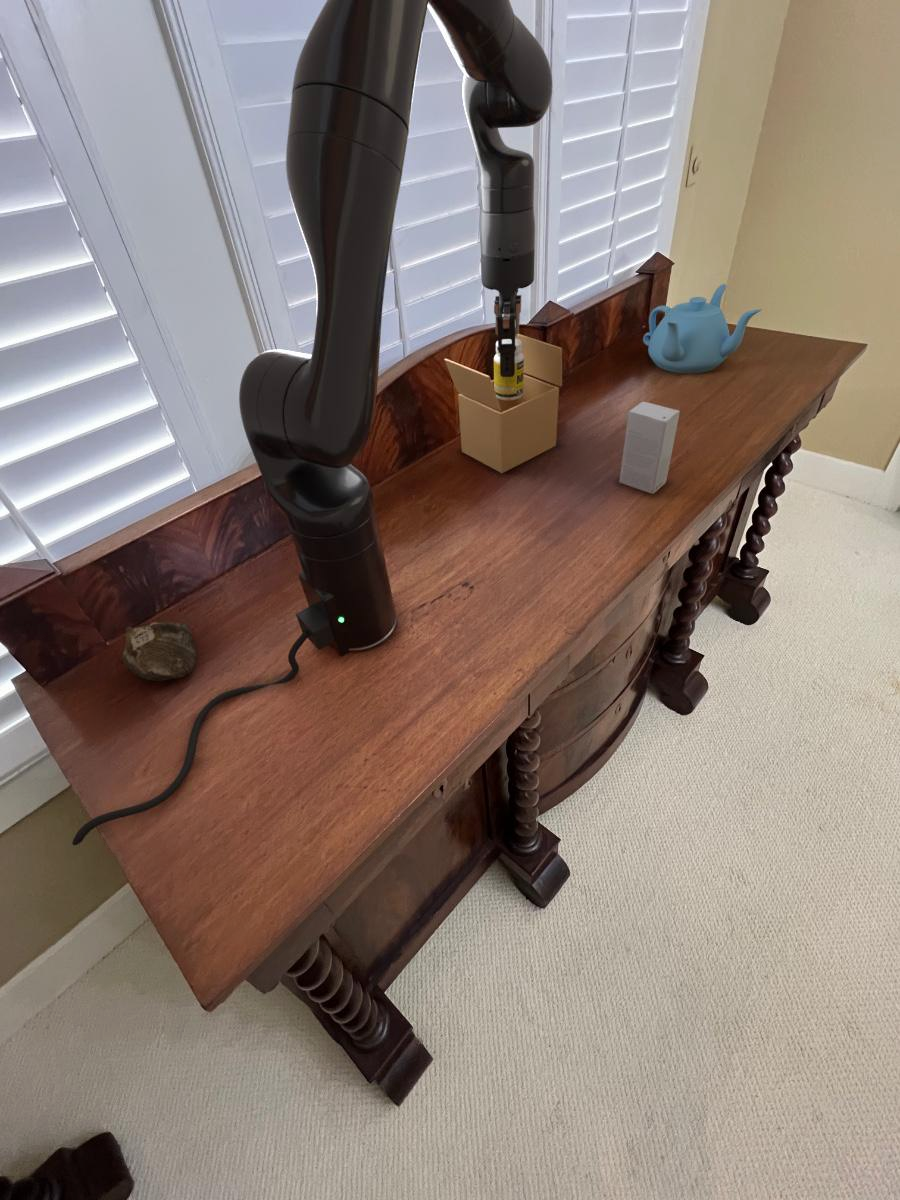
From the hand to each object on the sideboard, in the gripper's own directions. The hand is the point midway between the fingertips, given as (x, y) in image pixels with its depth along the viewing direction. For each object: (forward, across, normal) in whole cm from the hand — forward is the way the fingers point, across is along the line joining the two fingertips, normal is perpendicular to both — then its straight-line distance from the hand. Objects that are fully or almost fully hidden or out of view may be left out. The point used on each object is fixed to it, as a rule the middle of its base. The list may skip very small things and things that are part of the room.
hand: (508, 368), depth 93 cm
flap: (0, +5, -5) cm, 7 cm away
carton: (+14, 0, 0) cm, 14 cm away
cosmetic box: (+14, +11, +21) cm, 28 cm away
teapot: (+14, -36, +37) cm, 53 cm away
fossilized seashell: (+14, +51, -40) cm, 66 cm away
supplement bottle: (+5, 0, 0) cm, 5 cm away
